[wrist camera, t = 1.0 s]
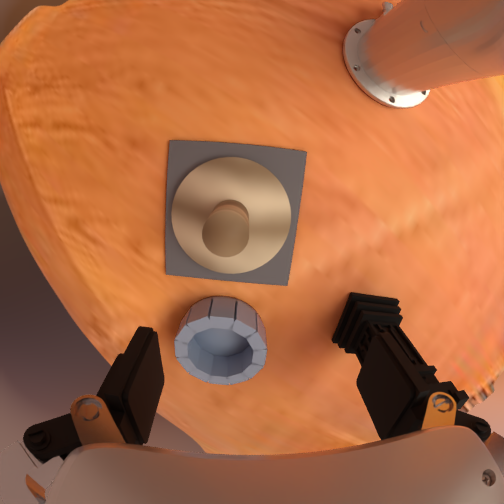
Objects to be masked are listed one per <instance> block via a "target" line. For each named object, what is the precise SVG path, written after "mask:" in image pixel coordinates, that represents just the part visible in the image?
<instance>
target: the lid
mask: <svg viewBox="0 0 504 504" xmlns="http://www.w3.org/2000/svg"><path fill="white" fill-rule="evenodd" d="M171 216H172V226H173V230H174V233H175V236H176V238H177V240H178V243H179V244H180V246H181V247H182V249H183V250H184V251H185V253H186V254H187V255H188V256H189V257H190V258H191V259H192V260H194V261H195V262H196V263H198V264H199V265H201V266H203V267H205V268H207V269H209V270H212V271H216V272H220V273H226V274H236V273H244V272H248V271H251V270H254V269H256V268H258V267H260V266H262V265H264V264H265V263H267V262H268V261H269V260H271V259H272V258H273V257H274V256H275V255H276V254H277V253H278V252H279V250H280V249H281V247H282V246H283V244H284V242H285V240H286V238H287V235H288V233H289V229H290V224H291V208H290V203H289V199H288V196H287V194H286V191H285V190H284V188H283V186H282V184H281V183H280V181H279V180H278V179H277V178H276V177H275V176H274V174H273V173H271V172H270V171H269V170H268V169H266V168H265V167H263V166H262V165H260V164H258V163H256V162H254V161H251V160H248V159H245V158H239V157H224V158H218V159H214V160H210V161H208V162H206V163H203V164H202V165H200V166H198V167H197V168H195V169H194V170H193V171H191V172H190V173H189V174H188V175H187V176H186V177H185V179H184V180H183V181H182V183H181V184H180V186H179V188H178V189H177V191H176V194H175V197H174V200H173V204H172V212H171Z"/></svg>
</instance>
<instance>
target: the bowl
mask: <svg viewBox="0 0 504 504" xmlns="http://www.w3.org/2000/svg"><path fill="white" fill-rule="evenodd" d="M174 343H175V355H176V357H177V358H176V359H177V360H178V361H179V363H180V364H181V365H182V366H183V368H184V369H185V370H186V371H187V372H189V374H190V375H192V376H194V377H196V378H198V379H200V380H202V381H204V382H208V381H209V383H212V384H222V385H229V383H230V385H232V384H236V383H239V382H243V381H246V380H249V378H250V379H251V378H252V377H253V376H254V375H255V374H257V373H258V372H259V371H260V370H261V369H262V368H263V366H264V365H265V359H266V354H267V342H266V331H265V327H264V325H263V323H262V320H261V318H260V316H259V315H258V313H257V312H256V311H255V310H254V309H253V308H252V307H251V306H250V305H248V304H247V303H245V302H243V301H241V300H239V299H236V298H232V297H227V296H213V297H208V298H205V299H203V300H200V301H198V302H197V303H195V304H194V305H193V306H191V308H190V309H189V310H188V312H187V313H186V315H185V316H184V317H183V319H182V321H181V323H180V326H179V329H178V332H177V334H176V337H175V340H174Z"/></svg>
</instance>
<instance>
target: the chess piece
mask: <svg viewBox="0 0 504 504" xmlns="http://www.w3.org/2000/svg"><path fill="white" fill-rule="evenodd" d="M398 304H399V300H398V299H395V298H388V297H380V296H373V295H366V294H360V293H353V292H351V293H350V295H349V298H348V301H347V303H346V306H345V309H344V311H343V314H342V316H341V319H340V321H339V323H338V326H337V328H336V331H335V333H334V335H333V338H332V342H333V343H338V346H339V348H345V349H344V350H345V352H346V353H352V354H356V356H357V358H358V360H359V362H360V364H361V366H362V365H363V362H364V360H365V357H366V354H367V351H368V349H369V346H370V343H371V340H372V338H373V337H374V336H375V335H376V334H377V333H386V332H388V333H390V334H391V335H392V337H393V338H394V339H395V341H396V342H397V343H398V345H399V346H400V347H401V349H402V350H403V351H404V353H405V354H406V356H407V357H408V358H409V360H410V361H411V362H412V364H413V365H414V367H415V368H416V369H417V371H418V372H419V374H420V375H421V377H422V378H423V379H424V381H425V382H426V384H427V385H428V387H429V388H430V392H429V393H430V395H432V394H433V393H436V392H444V393H446V394H449V395H450V396H451V397H452V398H453V399H454V400H455V402H456V410H458V409H461V407H462V406H463V405H464V404H465V402H466V401H467V400H468V399H469V397H468V395H467V394H466V392H465V391H464V390H462V391H458V390H457V389H456V387H455V386H454V385H453V383H452V382H451V381H448V382H441V383H439V381H438V380H437V378H436V377H435V376H434V374H435V372H436V371H437V369H436V368H435V367H434V366H428V365H427V364H426V362H425V361H424V360H423V358H422V357H421V355H420V354H419V353H418V351H417V350H416V348H415V347H414V346H413V344H412V343H411V341H410V340H409V339H408V337H407V336H406V335H405V333H404V332H403V331H402V329H401V328H400V327H399V325H400V323H401V321H402V319H403V317H402V316H401V315H400V314H399V313H400V311H401V308H400V307H399V306H398ZM381 440H383V439H381Z"/></svg>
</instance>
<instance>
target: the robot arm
mask: <svg viewBox="0 0 504 504" xmlns="http://www.w3.org/2000/svg"><path fill="white" fill-rule="evenodd" d="M382 7H383V14H382V15H381V16H380V17H379V18H377V19H369V20H364V21H361V22H358V23H357V24H355V25H354V26H353V27H352V28H351V29H350V30H349V31H348V33H347V35H346V36H345V39H344V43H343V55H344V61H345V63H346V66H347V69H348V71H349V73H350V74H351V76H352V78H353V79H354V81H355V82H356V83H357V85H358V86H359V87H360V88H361V89H362V90H363V91H364V92H365V93H366V94H367V95H369V96H370V97H371V98H372V99H374V100H376V101H377V102H379V103H381V104H383V105H386V106H388V107H392V108H397V109H405V108H410V107H414V106H417V105H419V104H420V103H422V102H423V101H424V100H425V99H426V98H427V96H428V94H429V92H430V89H434V88H438V87H442V86H446V85H450V84H455V83H460V82H465V81H470V80H475V79H481V78H486V77H493V76H500V75H504V0H402V1H401V2H399V3H397V5H396V6H395V7H394V8H393V5H392V4H391V3H388V2H384V3H383V4H382ZM354 68H355V69H356V71H355V70H354ZM389 100H390V101H389ZM163 386H164V373H163V367H162V361H161V355H160V348H159V341H158V334H157V332H155V331H153V328H150V327H141V326H139V327H138V329H137V330H136V332H135V334H134V336H133V338H132V340H131V341H130V343H129V345H128V347H127V349H126V351H125V352H124V354H121V353H120V354H119V355H118V356H117V358H116V359H115V361H114V363H113V365H112V367H111V369H110V371H109V372H108V374H107V376H106V378H105V380H104V382H103V384H102V385H101V387H100V390H99V391H98V393H97V395H96V396H94V395H83V396H81V397H79V398H77V399H76V400H74V401H73V403H72V404H71V408H70V413H69V414H66V415H64V416H61V417H57V418H54V419H51V420H48V421H45V422H42V423H39V424H35V425H33V426H31V427H29V428H28V429H27V430H26V432H25V433H24V437H23V441H22V442H21V443H19V441H16V442H15V443H13V444H12V445H10V446H9V447H7V448H6V449H4V450H2V451H1V452H0V498H1V499H2V501H3V502H4V504H504V438H503V437H502V436H500V435H499V434H497V433H495V432H493V433H492V434H491V428H490V425H489V424H488V423H487V422H486V421H485V420H484V419H481V418H479V417H475V416H473V415H470V414H467V413H464V412H461V411H458V410H456V402H455V400H454V399H453V398H452V397H451V396H450V395H449V394H446V393H444V392H436V393H433V394H432V395H430V393H429V392H430V388H429V387H428V385H427V384H426V382H425V381H424V379H423V378H422V377H421V375H420V374H419V372H418V371H417V369H416V368H415V367H414V365H413V364H412V362H411V361H410V360H409V358H408V357H407V356H406V354H405V353H404V351H403V350H402V349H401V347H400V346H399V345H398V343H397V342H396V341H395V339H394V338H393V337H392V335H391V334H390V333H388V332H386V333H377V334H376V335H375V336H374V337H373V338H372V340H371V343H370V346H369V349H368V351H367V354H366V357H365V360H364V362H363V365H362V367H361V370H360V373H359V375H358V378H357V387H358V389H359V392H360V394H361V396H362V398H363V401H364V403H365V405H366V407H367V410H368V412H369V414H370V416H371V419H372V421H373V423H374V426H375V428H376V430H377V433H378V435H379V437H380V438H381V439H383V440H380V441H376V442H371V443H366V444H362V445H356V446H351V447H345V448H339V449H332V450H325V451H317V452H307V453H296V454H279V455H225V454H209V453H197V452H187V451H178V450H170V449H163V448H157V447H150V446H143V443H145V444H146V443H147V442H148V438H149V435H150V431H151V427H152V423H153V420H154V416H155V413H156V409H157V406H158V403H159V399H160V396H161V392H162V389H163ZM52 480H54V481H53V482H52ZM51 484H52V485H51ZM50 485H51V488H50V491H49V494H48V496H47V499H45V490H46V489H47V488H48V486H50Z"/></svg>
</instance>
